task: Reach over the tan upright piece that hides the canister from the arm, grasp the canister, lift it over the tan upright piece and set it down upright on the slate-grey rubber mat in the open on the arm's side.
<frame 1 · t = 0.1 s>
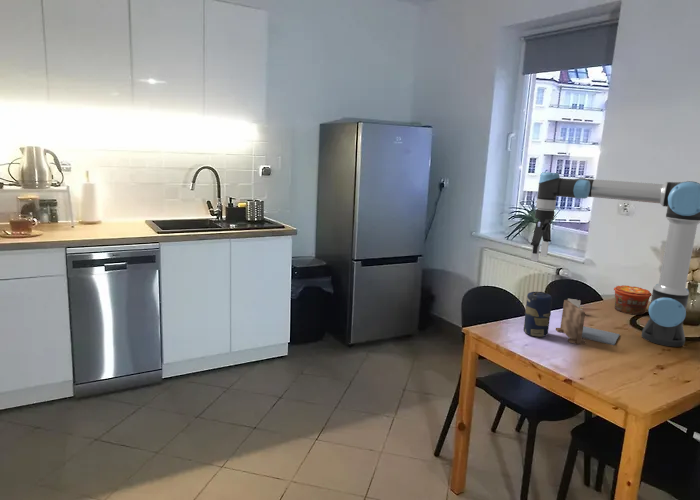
hand: (539, 258, 218), 28 cm above the table, fingers open, 13 cm apart
food container: (629, 311, 246), on the table
canister: (535, 334, 207), on the table
architectural model: (572, 314, 237), on the table
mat: (597, 336, 208), on the table
tan upright piece: (569, 336, 206), on the table
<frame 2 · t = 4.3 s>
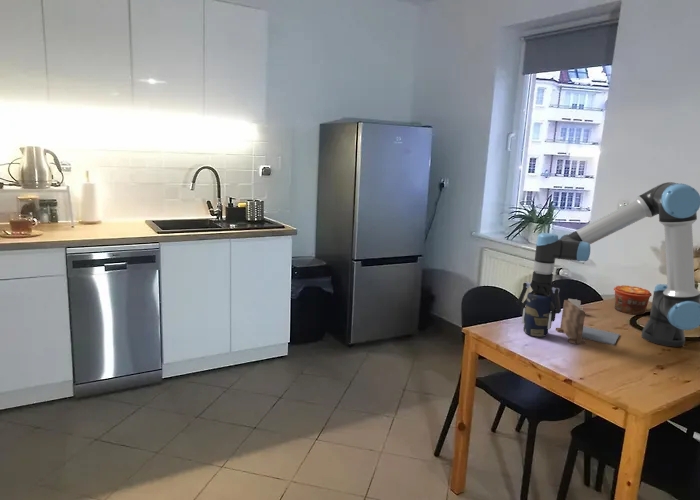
hand: (536, 325, 206), 4 cm above the table, fingers closed on canister, 9 cm apart
canister: (534, 334, 207), on the table, touching gripper
everything else where it was.
when the fingers open (6 cm above the table, at t = 12.3 s): canister drops 2 cm, resting on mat.
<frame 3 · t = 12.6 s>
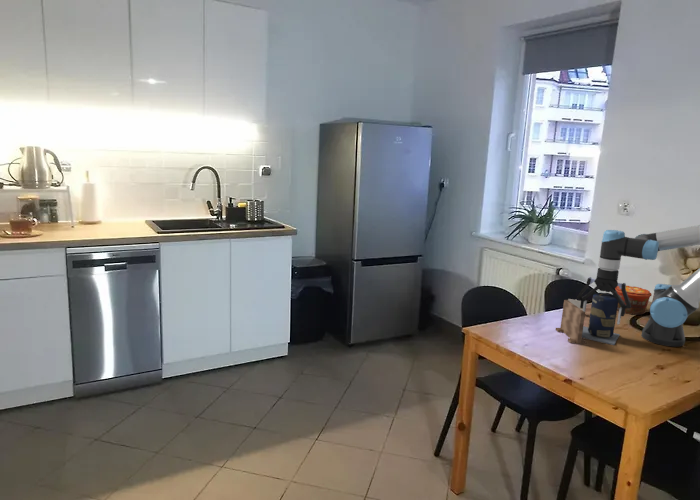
hand: (600, 319, 207), 7 cm above the table, fingers open, 12 cm apart
canister: (599, 335, 208), resting on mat
everything else where it was.
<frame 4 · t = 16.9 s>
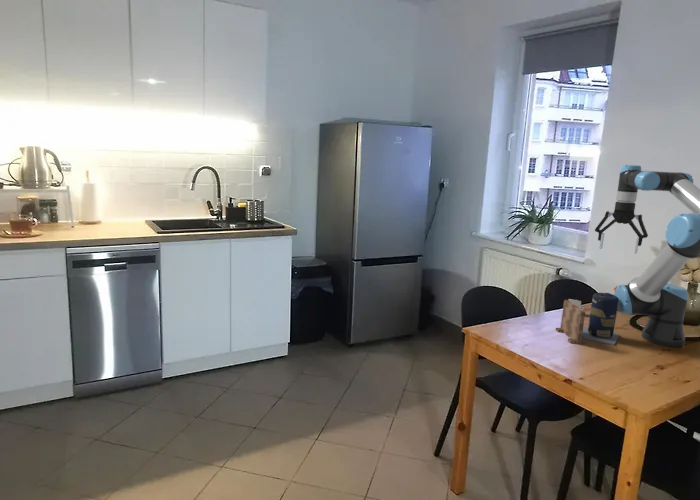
hand: (617, 250, 220), 33 cm above the table, fingers open, 13 cm apart
nothing on the table moved.
at the end: canister inside the target area (0.6 cm from its centre), resting on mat; canister tilted 0°; canister touching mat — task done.
